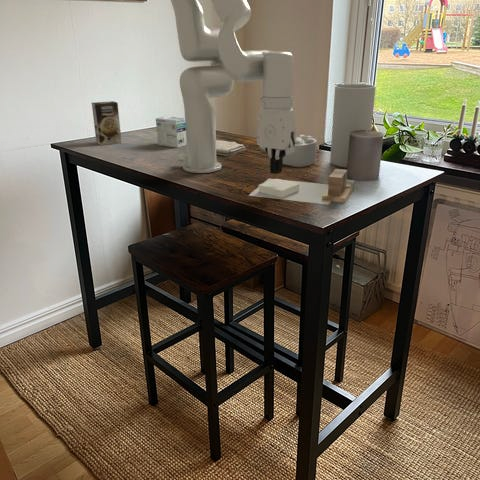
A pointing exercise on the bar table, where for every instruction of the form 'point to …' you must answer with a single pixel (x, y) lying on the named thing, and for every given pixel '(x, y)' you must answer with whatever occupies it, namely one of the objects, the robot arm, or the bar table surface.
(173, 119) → the light bulb box
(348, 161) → the pillar candle
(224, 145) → the washcloth
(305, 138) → the lumpy-topped squat cylinder
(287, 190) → the tile
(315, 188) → the mat
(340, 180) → the light wood block
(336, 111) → the cylinder vase
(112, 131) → the coffee box
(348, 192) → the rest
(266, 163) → the bar table surface
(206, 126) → the robot arm
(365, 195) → the bar table surface
